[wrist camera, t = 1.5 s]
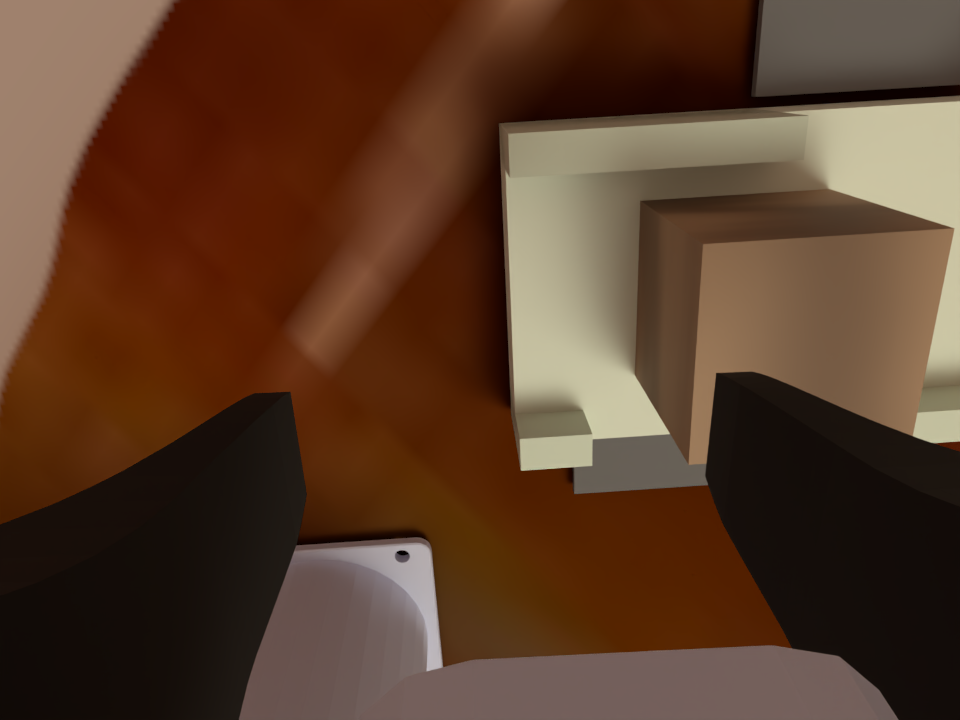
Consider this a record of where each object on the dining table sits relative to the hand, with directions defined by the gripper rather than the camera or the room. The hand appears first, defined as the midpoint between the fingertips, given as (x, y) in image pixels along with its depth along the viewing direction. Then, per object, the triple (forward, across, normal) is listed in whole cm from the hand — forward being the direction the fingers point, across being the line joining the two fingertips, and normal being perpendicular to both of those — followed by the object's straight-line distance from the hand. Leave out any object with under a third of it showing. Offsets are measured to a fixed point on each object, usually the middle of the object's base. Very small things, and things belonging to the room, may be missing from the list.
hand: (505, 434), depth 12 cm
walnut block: (+8, -7, 0) cm, 10 cm away
